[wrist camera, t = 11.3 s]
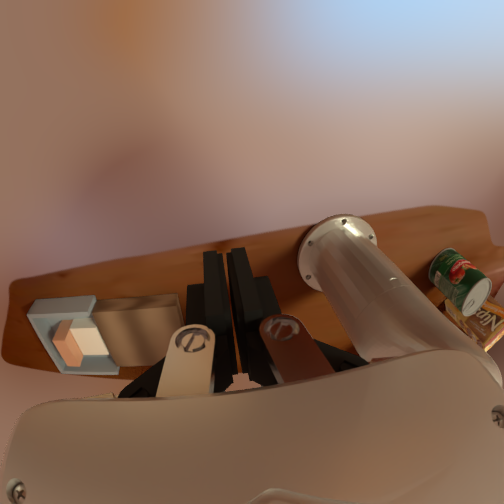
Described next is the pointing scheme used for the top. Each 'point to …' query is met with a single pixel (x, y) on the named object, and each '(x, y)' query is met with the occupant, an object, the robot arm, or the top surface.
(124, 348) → the walnut board
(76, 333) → the cream tile
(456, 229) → the top surface
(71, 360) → the terracotta tile
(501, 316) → the candy box
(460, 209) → the top surface
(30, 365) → the top surface
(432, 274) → the canned tomato
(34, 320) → the tray
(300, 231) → the top surface
